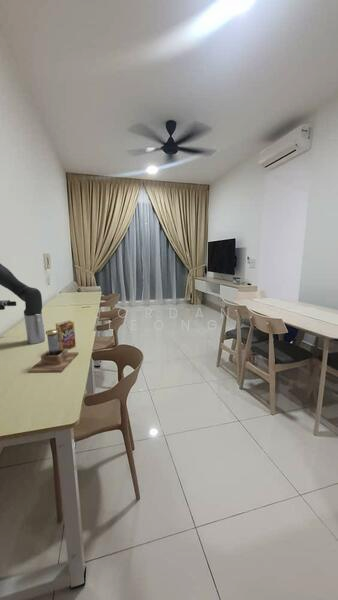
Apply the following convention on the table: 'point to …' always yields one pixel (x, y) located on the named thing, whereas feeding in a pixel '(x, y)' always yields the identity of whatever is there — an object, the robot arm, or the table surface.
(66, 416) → the table surface
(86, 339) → the table surface
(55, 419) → the table surface
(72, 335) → the candy box
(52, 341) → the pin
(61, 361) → the socket block
